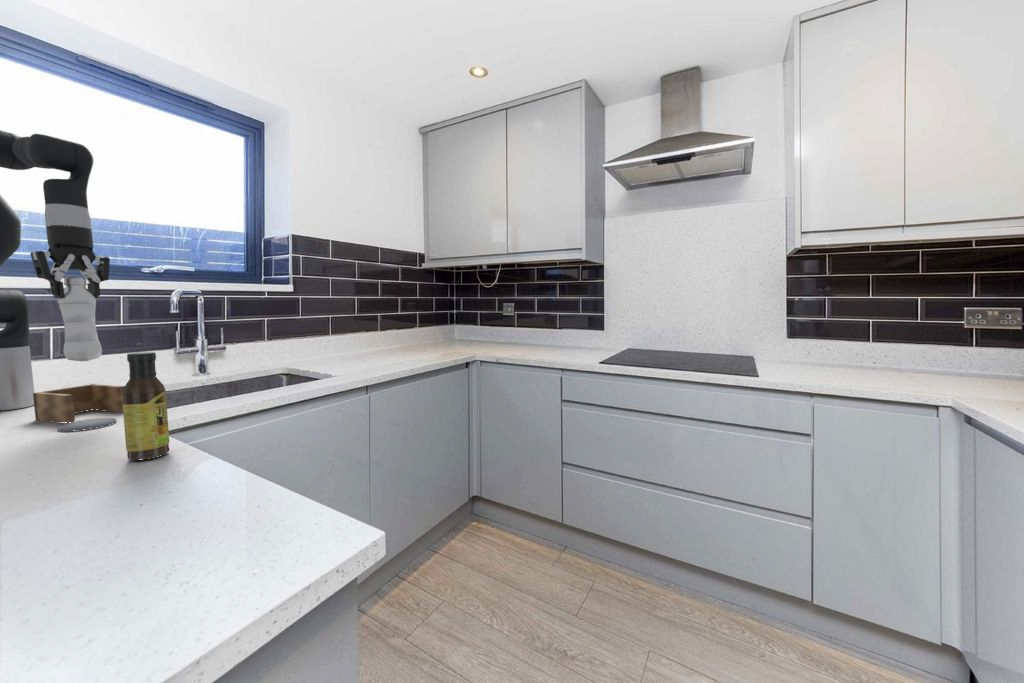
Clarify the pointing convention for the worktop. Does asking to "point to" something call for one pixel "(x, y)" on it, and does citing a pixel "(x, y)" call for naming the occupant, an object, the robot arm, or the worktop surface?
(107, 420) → the mat
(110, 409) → the holder
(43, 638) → the worktop surface
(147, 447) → the sauce bottle
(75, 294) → the plastic bottle
